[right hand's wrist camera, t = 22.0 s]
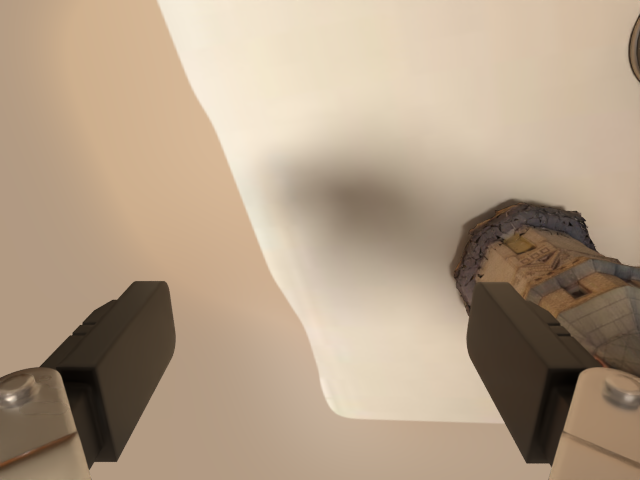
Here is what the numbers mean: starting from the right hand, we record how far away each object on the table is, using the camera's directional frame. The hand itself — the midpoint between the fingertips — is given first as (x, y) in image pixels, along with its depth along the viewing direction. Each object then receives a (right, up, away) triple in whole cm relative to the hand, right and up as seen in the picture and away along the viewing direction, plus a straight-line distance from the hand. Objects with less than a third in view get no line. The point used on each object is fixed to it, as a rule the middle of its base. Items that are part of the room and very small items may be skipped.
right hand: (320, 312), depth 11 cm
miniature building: (+20, 0, +34) cm, 40 cm away
